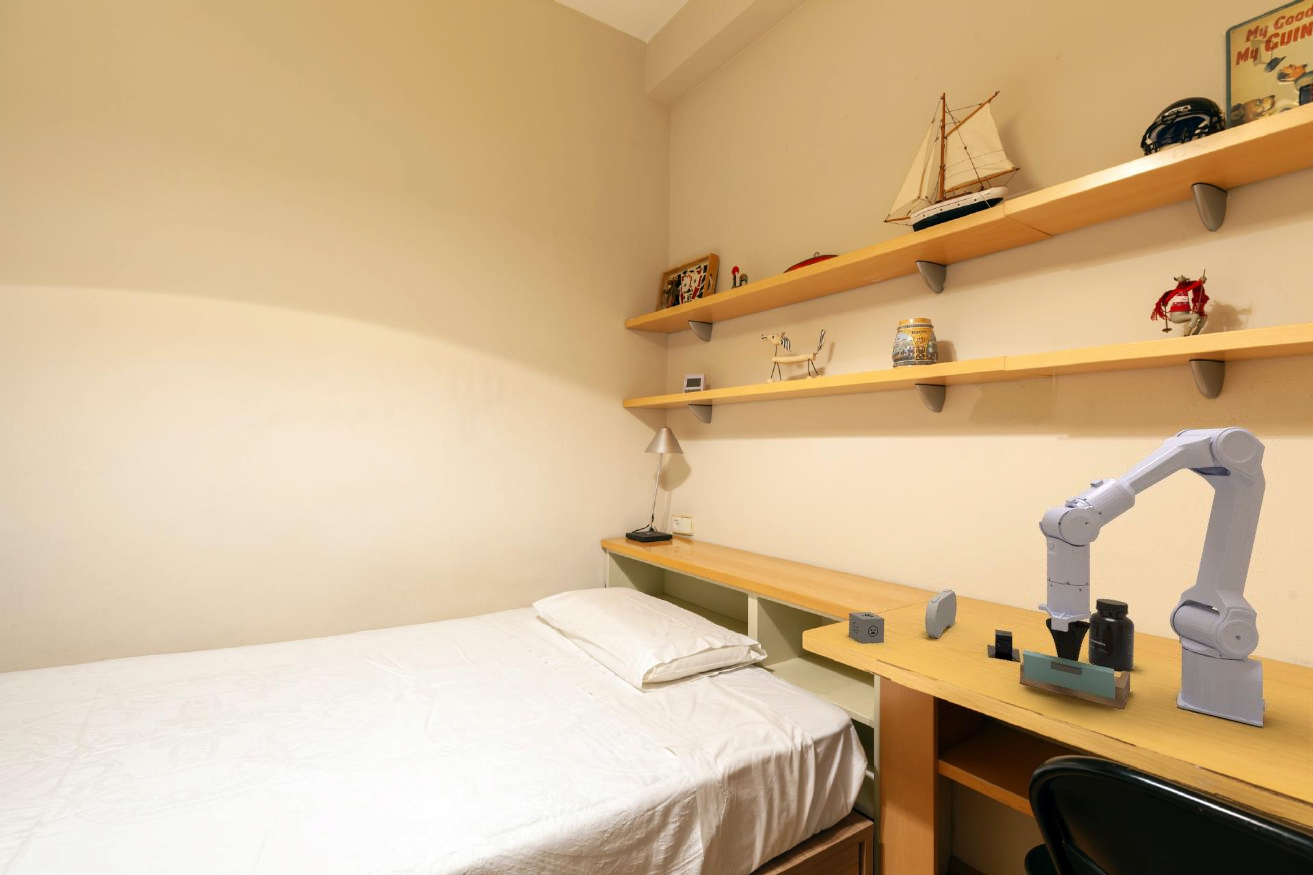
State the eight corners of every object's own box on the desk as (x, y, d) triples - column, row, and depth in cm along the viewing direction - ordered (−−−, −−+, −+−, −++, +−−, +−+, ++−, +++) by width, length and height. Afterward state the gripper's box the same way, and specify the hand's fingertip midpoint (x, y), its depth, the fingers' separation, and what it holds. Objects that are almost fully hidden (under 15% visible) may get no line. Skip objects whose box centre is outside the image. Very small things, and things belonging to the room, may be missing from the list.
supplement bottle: (1085, 664, 113) (1086, 600, 113) (1090, 656, 118) (1091, 595, 118) (1132, 674, 108) (1132, 608, 108) (1135, 665, 113) (1136, 601, 113)
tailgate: (1115, 694, 93) (1113, 669, 92) (1114, 701, 92) (1112, 676, 90) (1026, 673, 101) (1023, 649, 100) (1024, 679, 100) (1021, 655, 99)
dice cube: (883, 642, 123) (884, 618, 123) (862, 644, 122) (862, 619, 122) (869, 635, 128) (870, 611, 128) (848, 636, 126) (849, 612, 127)
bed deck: (1130, 691, 100) (1130, 672, 100) (1123, 709, 93) (1123, 688, 93) (1032, 668, 109) (1033, 651, 109) (1019, 683, 102) (1020, 664, 102)
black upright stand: (1026, 669, 111) (1026, 644, 111) (981, 661, 114) (981, 637, 115) (1022, 650, 122) (1022, 628, 122) (981, 644, 125) (982, 622, 125)
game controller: (946, 621, 141) (946, 585, 141) (956, 623, 139) (957, 587, 140) (923, 639, 126) (924, 600, 126) (935, 642, 124) (935, 602, 124)
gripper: (1048, 571, 104) (1047, 649, 104) (1028, 584, 94) (1028, 671, 94) (1098, 577, 99) (1097, 659, 99) (1083, 592, 89) (1083, 684, 89)
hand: (1067, 666), depth 96 cm, fingers closed, pressing on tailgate
